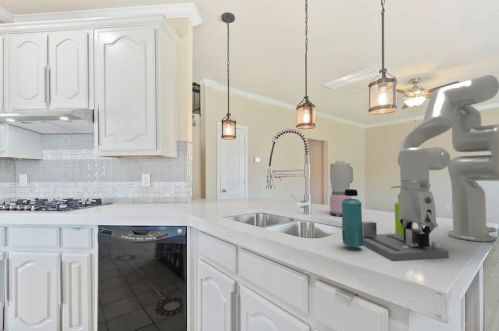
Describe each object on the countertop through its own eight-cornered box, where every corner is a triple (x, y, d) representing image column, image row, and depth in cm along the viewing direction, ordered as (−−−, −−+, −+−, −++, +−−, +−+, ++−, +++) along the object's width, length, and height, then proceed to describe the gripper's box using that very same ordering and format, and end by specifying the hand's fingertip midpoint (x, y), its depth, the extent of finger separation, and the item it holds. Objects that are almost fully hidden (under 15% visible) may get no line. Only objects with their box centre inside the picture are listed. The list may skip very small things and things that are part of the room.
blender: (339, 217, 132) (338, 160, 133) (325, 214, 143) (324, 161, 144) (361, 215, 137) (360, 161, 138) (346, 212, 148) (345, 161, 149)
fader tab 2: (420, 243, 76) (419, 227, 76) (426, 246, 74) (426, 229, 74) (405, 244, 75) (405, 228, 76) (412, 246, 73) (411, 230, 73)
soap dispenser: (393, 233, 98) (392, 185, 98) (413, 236, 93) (412, 185, 94) (391, 236, 93) (390, 186, 94) (412, 239, 89) (410, 186, 89)
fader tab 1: (372, 234, 87) (372, 221, 87) (376, 236, 84) (376, 222, 85) (359, 235, 86) (359, 221, 87) (363, 237, 84) (363, 223, 84)
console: (398, 238, 90) (398, 228, 90) (448, 257, 70) (448, 244, 70) (354, 240, 88) (354, 230, 88) (392, 260, 68) (392, 246, 68)
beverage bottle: (367, 250, 77) (366, 189, 78) (351, 252, 75) (349, 190, 76) (353, 244, 83) (352, 188, 84) (337, 246, 82) (336, 188, 82)
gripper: (450, 187, 67) (452, 252, 66) (404, 184, 84) (406, 236, 83) (426, 188, 66) (428, 253, 66) (385, 185, 83) (386, 236, 83)
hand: (416, 243), depth 74 cm, fingers open, 4 cm apart
